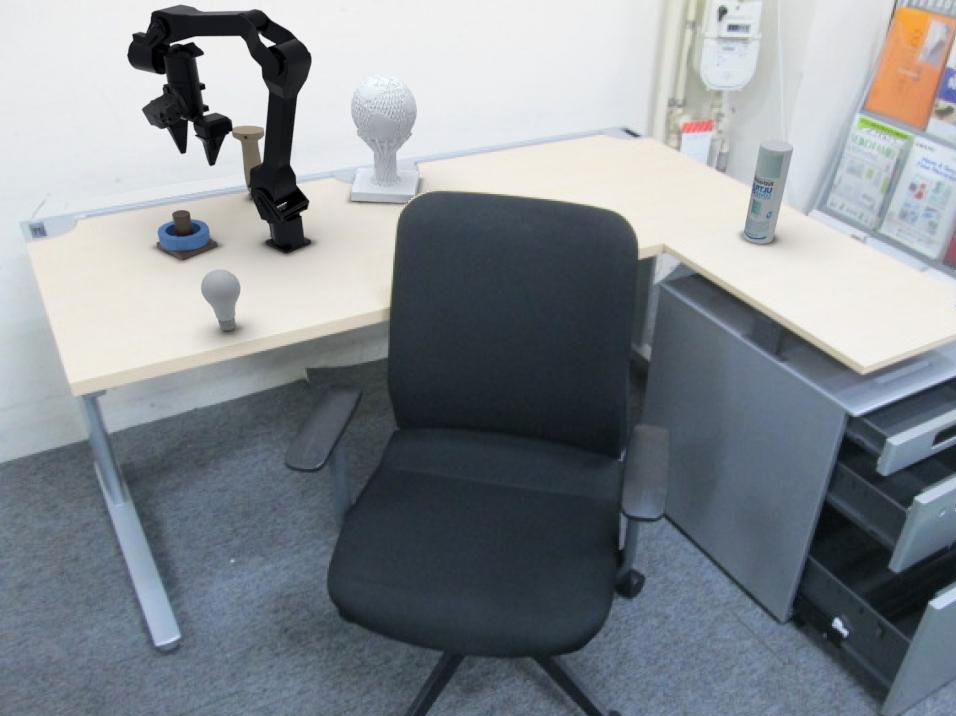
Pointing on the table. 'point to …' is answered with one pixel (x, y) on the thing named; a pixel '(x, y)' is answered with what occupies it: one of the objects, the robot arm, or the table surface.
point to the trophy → (384, 139)
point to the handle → (249, 148)
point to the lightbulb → (222, 296)
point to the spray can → (767, 190)
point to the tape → (187, 242)
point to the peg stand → (185, 229)
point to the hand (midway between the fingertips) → (197, 159)
